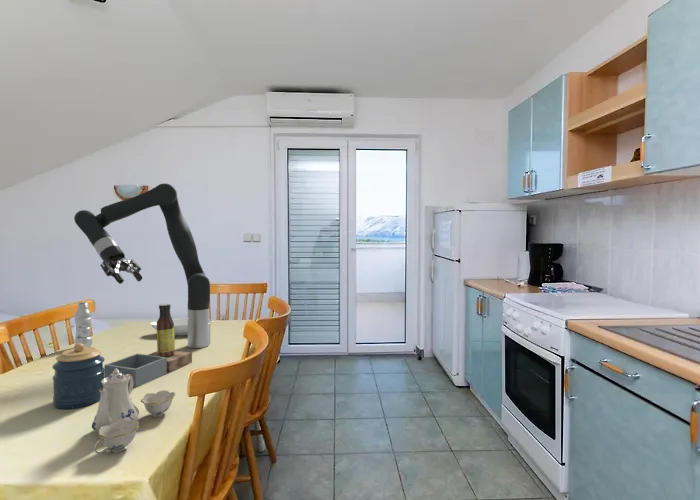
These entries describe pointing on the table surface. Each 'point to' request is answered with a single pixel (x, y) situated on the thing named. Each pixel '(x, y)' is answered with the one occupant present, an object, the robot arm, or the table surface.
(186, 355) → the block
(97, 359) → the canister
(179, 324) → the bowl
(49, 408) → the table surface
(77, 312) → the plastic bottle
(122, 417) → the chinaware
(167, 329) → the sauce bottle
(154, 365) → the tub
